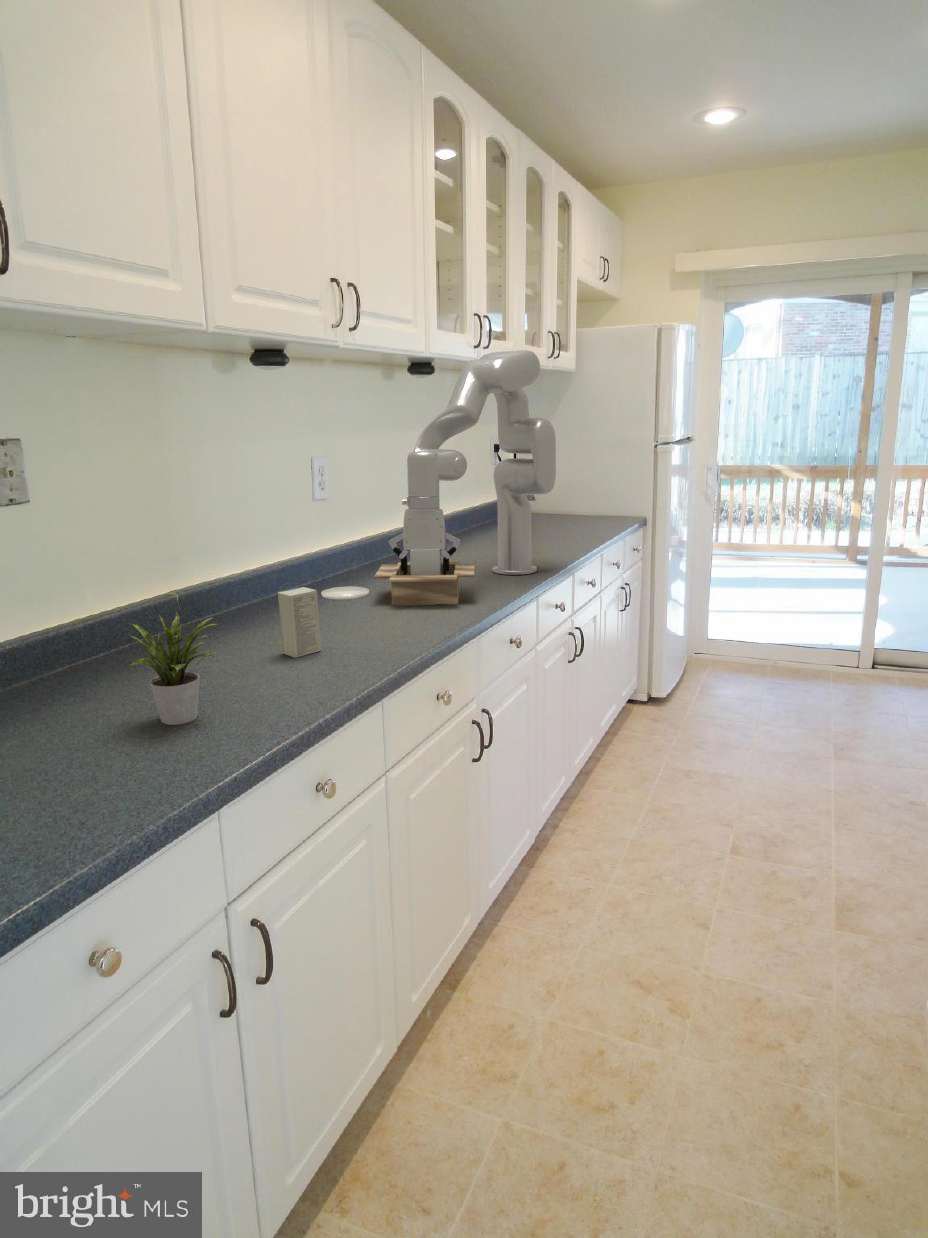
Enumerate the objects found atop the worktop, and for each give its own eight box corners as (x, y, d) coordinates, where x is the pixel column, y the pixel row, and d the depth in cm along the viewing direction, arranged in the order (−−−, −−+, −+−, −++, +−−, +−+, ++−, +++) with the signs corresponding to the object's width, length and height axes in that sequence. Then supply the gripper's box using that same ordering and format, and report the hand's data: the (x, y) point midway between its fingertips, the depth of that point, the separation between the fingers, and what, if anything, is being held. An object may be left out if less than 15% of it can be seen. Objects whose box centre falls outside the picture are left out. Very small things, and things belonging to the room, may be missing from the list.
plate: (326, 589, 211) (326, 586, 211) (372, 589, 211) (371, 586, 211) (317, 599, 200) (317, 596, 199) (365, 599, 199) (365, 596, 199)
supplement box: (441, 600, 196) (439, 549, 193) (410, 601, 196) (408, 549, 193) (442, 594, 203) (441, 544, 200) (413, 594, 204) (411, 544, 201)
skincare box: (308, 647, 159) (304, 586, 156) (322, 651, 155) (318, 589, 152) (281, 654, 154) (276, 591, 151) (294, 658, 151) (289, 595, 148)
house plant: (246, 724, 119) (236, 616, 115) (147, 746, 112) (133, 631, 108) (217, 697, 131) (207, 599, 127) (126, 715, 123) (113, 611, 119)
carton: (384, 588, 212) (383, 561, 210) (475, 587, 211) (474, 560, 209) (373, 609, 189) (371, 579, 187) (474, 608, 188) (474, 578, 187)
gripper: (386, 505, 191) (388, 577, 195) (459, 504, 190) (460, 576, 194) (389, 502, 198) (391, 571, 202) (460, 502, 198) (460, 571, 202)
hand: (425, 574), depth 198 cm, fingers open, 9 cm apart
